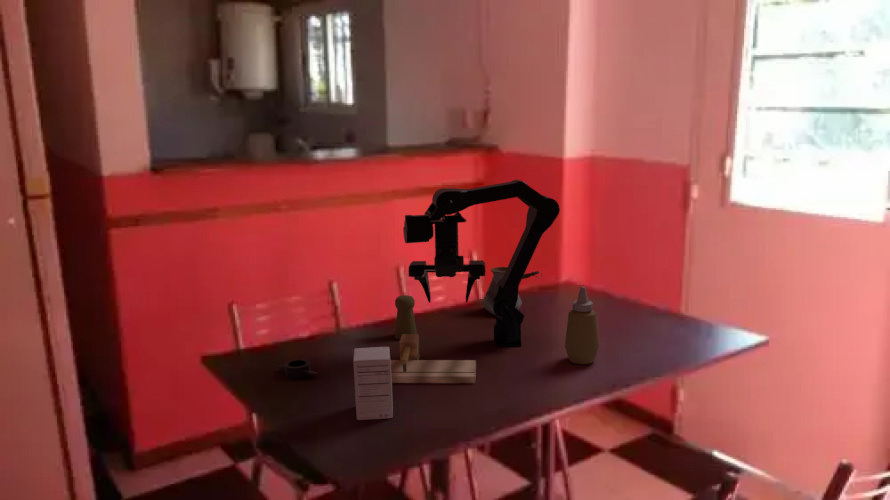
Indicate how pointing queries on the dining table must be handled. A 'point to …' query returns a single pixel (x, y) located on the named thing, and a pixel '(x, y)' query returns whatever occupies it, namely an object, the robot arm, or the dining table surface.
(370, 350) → the supplement box
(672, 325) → the dining table surface
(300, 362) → the dark ring with tabs
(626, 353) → the dining table surface
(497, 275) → the coffee pot
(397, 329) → the cork
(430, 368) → the board
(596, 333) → the squeeze bottle
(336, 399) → the dining table surface
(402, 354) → the gauge
